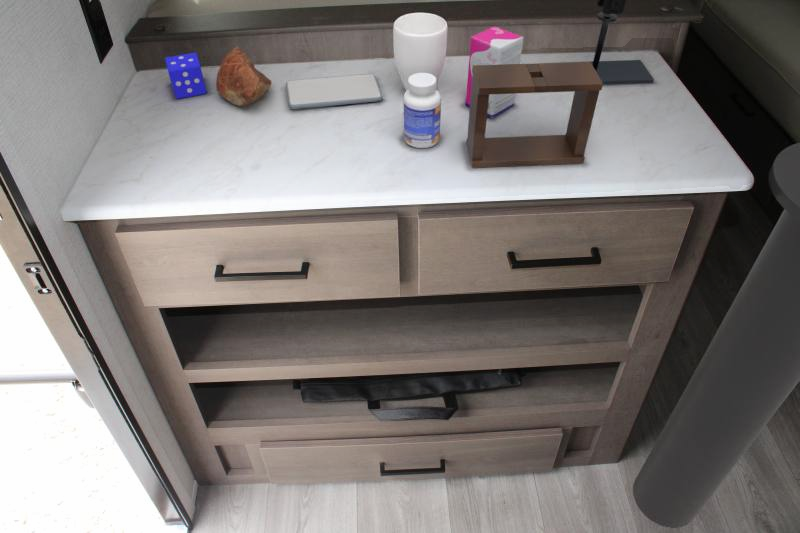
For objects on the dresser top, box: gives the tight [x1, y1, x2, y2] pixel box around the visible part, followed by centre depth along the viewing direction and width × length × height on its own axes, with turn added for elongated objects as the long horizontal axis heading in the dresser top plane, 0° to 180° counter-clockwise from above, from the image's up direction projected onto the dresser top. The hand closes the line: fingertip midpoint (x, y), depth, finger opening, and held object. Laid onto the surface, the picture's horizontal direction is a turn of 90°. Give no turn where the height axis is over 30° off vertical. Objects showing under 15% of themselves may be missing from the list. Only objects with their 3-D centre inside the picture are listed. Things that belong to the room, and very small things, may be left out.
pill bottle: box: [402, 73, 442, 149], centre depth 91 cm, size 5×5×10 cm
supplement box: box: [465, 25, 524, 119], centre depth 97 cm, size 6×6×12 cm
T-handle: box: [592, 11, 618, 70], centre depth 102 cm, size 10×3×14 cm, turn 93°
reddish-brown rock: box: [215, 45, 272, 107], centre depth 101 cm, size 13×8×10 cm
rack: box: [465, 61, 604, 169], centre depth 87 cm, size 16×6×12 cm, turn 93°
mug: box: [392, 12, 448, 92], centre depth 102 cm, size 12×8×11 cm
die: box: [164, 52, 208, 100], centre depth 103 cm, size 5×5×5 cm
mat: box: [590, 59, 655, 85], centre depth 108 cm, size 16×7×1 cm, turn 93°
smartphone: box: [285, 73, 383, 110], centre depth 103 cm, size 8×1×15 cm
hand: (609, 8), depth 100 cm, fingers closed on T-handle, 2 cm apart
